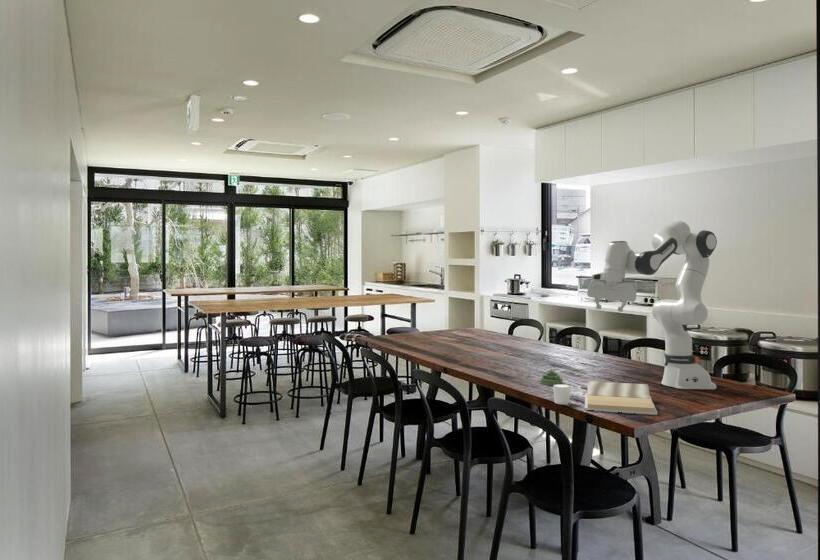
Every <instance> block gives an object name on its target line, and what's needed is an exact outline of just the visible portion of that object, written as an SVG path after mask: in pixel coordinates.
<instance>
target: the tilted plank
mask: <svg viewBox="0 0 820 560" xmlns="http://www.w3.org/2000/svg"><path fill="white" fill-rule="evenodd" d="M586 383H587V392H586V393H587V398H588V395H594V396H612V397H630V398H648V399H650V397H651V395H650V388H649V384H648V383H647V384H646V383H630V382H629V383H627V382H608V381H607V382H606V381H587V382H586Z"/></svg>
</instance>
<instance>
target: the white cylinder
mask: <svg viewBox="0 0 820 560" xmlns="http://www.w3.org/2000/svg"><path fill="white" fill-rule="evenodd" d="M552 387H553V388H552V389H553V397H554V403H555V404H557V405H569V404H570V396H571V385H569V384H564V383H563V384H556V385H553V386H552ZM568 403H569V404H568Z"/></svg>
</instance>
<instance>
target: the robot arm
mask: <svg viewBox="0 0 820 560" xmlns="http://www.w3.org/2000/svg"><path fill="white" fill-rule="evenodd" d="M717 243H718V240H717V237H716V235H715V233H714V232H713V231H710V230H704V229H702V230H691V228H690V226H689V225H688V224H687V223H686V222H685V221H681V220H676V221H672V222H671V223H668V224H666V225H664V226H662V227H660V228H659V229H658V230H657V231H655V232H654V233H653V234H652V236H651V246H652V247H653V250H647V251H634V250H633V249H631V248H630V246H629V243H628V242H627V241H625V240H615V241H610V242H609V243H608V245H607V248H606V253H605V259H604V260H605V261H604V262H605V266H604V268H603V272H598V273H595V274H592V275H591V277H590V279H591V280H590V282H589V284H588V288H587V296H588V298H592V299H594V302H595V304H596V305H595V306H596V307H595V309H596V310H601V309H602V305H601V304H600V303H599V301H601V299H602V300H612V301H621V305H620V306H618V308H617V312H621V313H623V311H624V308H625V306H626V305H627V303H629V302H630V303H634V302H635V301H637V289H638V286H639V285H638V282H637V281H636V280H635V279H629V278H626V275H643V276H644V275H646V276H652V275H654V274H656V272H658V270H659V269H660V267H661V266H662V264H663V263H664V262H666V260H668V259H669V258H670V257H671V256H673V254H675V255H679V256H680V255H685V261H684V263H683V265H682V267H681V269H680V271H679V274H678V276H677V280H676V282H675V288H676V290H677V292H679V293H680V298H679V299H669V298H665V299H661V300H656V301H655V302H654V303H653V304H652V309H651V312H652V313H651V314H652V317H653V319H655V320H656V321H657V322H658V323H659V324H660V326H661V329H662V331H663V335H664V343H665V345H664V346H665V349H664V350H665V352H664V355H663V365H664V370H663V376H662V379H661V384H662V385H663V386H667V387H672V388H675V389H678V390H679V389H680V390H716V389H717V385H716V383H714V381H713V382H712V379H711V375H710V373H709V372H708V371H707V370H706V369H705V368H703V367H702V366H701V365H699V364H698V363H697V362H699V361H700V358H699V356H696V355H694V354H693V339H692V335H690V334H689V333H688V332H686V331H685V329H684V326H683V325H685V326H698V325H702V324H703V323H705V322H706V321H707V318H708V312H709V311H708V308H707V307H706V305H705V304H704V303H703V301H702V290H703V286H704V284H705V281H706V279H707V276H708V271H709V269H710V268H709V267H710V257H711V255H712V254H713V252H714V251H715V249H716V247H717Z"/></svg>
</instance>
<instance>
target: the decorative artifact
mask: <svg viewBox="0 0 820 560" xmlns="http://www.w3.org/2000/svg"><path fill="white" fill-rule="evenodd" d="M540 384H541V385H542V384H543V385H542V386H547V385H548V386H549V387H553V385H556V384H564V383H563V378H562V377H561V376H560V375H559V374H558V373H557V372H555V371H554V370H553V369H552V368H551V369H550V370H548V372H546V373H545V374H542V375H541V377H540ZM548 386H547V387H548Z"/></svg>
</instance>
